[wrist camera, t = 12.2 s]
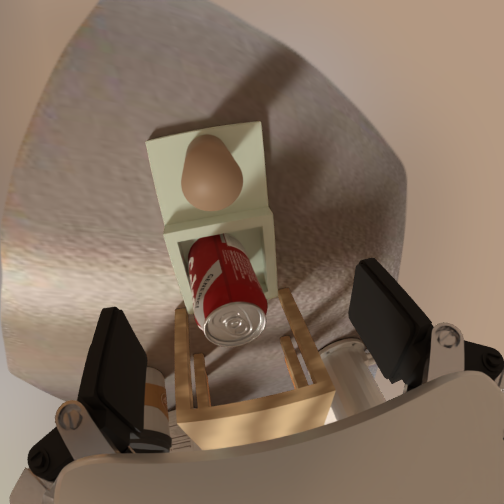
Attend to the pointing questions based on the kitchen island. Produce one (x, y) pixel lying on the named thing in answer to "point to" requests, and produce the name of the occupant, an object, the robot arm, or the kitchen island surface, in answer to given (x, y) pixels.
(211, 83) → the kitchen island surface
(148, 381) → the coffee cup
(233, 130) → the tan cylinder on base
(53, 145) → the kitchen island surface
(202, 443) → the wooden stool
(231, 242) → the soda can
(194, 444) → the supplement box
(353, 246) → the kitchen island surface
